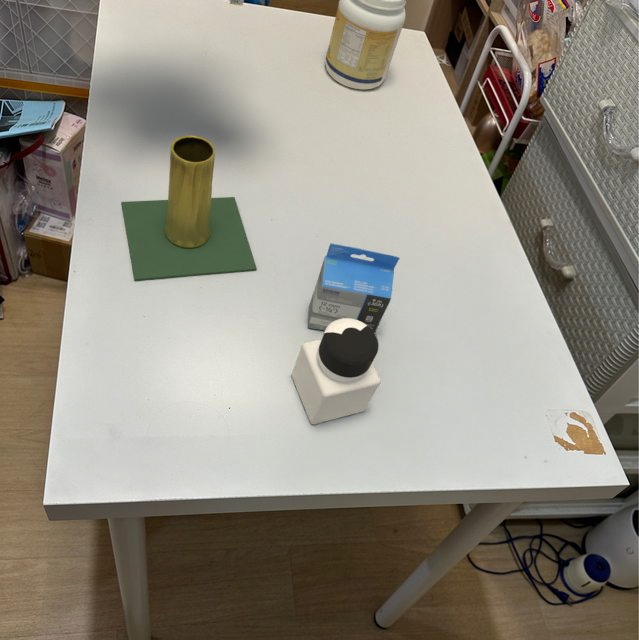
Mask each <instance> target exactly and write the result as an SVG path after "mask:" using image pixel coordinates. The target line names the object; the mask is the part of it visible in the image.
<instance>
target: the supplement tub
mask: <svg viewBox="0 0 639 640" xmlns="http://www.w3.org/2000/svg"><path fill="white" fill-rule="evenodd" d="M406 4H407V0H338V4H337V5H338V6H337V10H336V14H335V17H334V18H335V19H334V22H333V27H332V31H331V35H330V39H329V44H328V48H327V51H326V54H325V69H326V71H327V72H328V74H329V75H330V77H331V78H332V79H333V80H335V81H336V82H337V83H339V84H341V85H343V86H345V87H347V88H351V89H354V90H355V89H356V90H363V91H364V90H372V89H375V88H378V87H379V86H380V85H382V84H383V83H384V81H385V80H386V77H387V74H388V72H389V69H390V66H391V62H392V59H393V56H394V53H395V50H396V48H397V44H398V42H399V38H400V35H401V33H402V29H403V26H404V24H405V22H406V9H405V8H406V7H405V6H406Z"/></svg>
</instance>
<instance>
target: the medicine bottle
mask: <svg viewBox="0 0 639 640" xmlns="http://www.w3.org/2000/svg"><path fill="white" fill-rule="evenodd" d="M379 346H380V345H379V339H378V337H377V335H376V332H375V333H374V332H373V331H372V330H371V328H369V327H368V326H367V325H366V324H364V323H363V322H361V321H358V320H355V319H349V318H343V319H338V320H335V321H333V322H332V323H330V324H329V325H328V327H327V328H326V330H324V332H323V335H322V337H321V338H320V339H316V340H315V339H314V340H310V341H305V342H303V343H302V344H301V346H300V349H299V353H298V355H297V357H296V360H295V363H294V366H293V369H292V371H291V379H292V380H293V381H292V382H293V384H294V385H295V388H296V390H297V393H298V396H299V398H300V401H301V403H302V405H303V408H304V410H305V413H306V416H307V418H308V420H309V423H310V424H311V425H318V424H320V423H325V422H328V421H332V420H336V419H340V418H343V417H348V416H351V415H355V414H359V413H362V412H365V410H366V408H367V407H368V405H369V403H370V402H371V400H372V398H373V396H374V395H375V393H376V391H377V390H378V388H379V386H380V384H381V382H382V381H381V378H380V375H379V374H378V372H377V369H376V368H375V365H374V364H373V362H374V360H375V358H376V356H377V354H378V352H379Z"/></svg>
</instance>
